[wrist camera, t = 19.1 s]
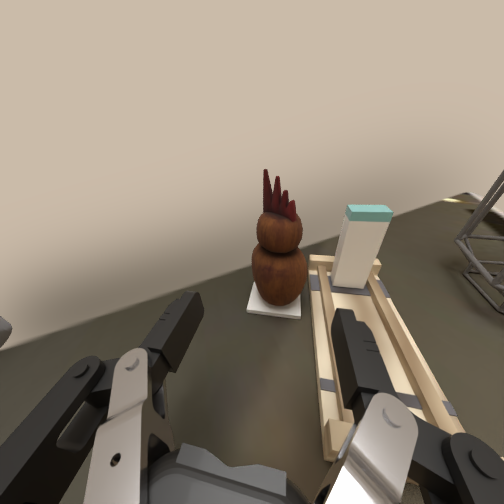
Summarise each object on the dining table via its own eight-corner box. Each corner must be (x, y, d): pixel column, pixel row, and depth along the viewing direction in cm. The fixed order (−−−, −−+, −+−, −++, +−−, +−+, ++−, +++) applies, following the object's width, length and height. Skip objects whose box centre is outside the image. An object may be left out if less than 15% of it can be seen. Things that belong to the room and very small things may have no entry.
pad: (246, 312, 22) (246, 309, 22) (256, 278, 28) (255, 275, 27) (300, 319, 21) (300, 316, 21) (299, 282, 26) (299, 278, 26)
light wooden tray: (323, 460, 12) (332, 449, 10) (307, 270, 28) (309, 254, 27) (490, 504, 10) (531, 501, 9) (371, 275, 27) (377, 258, 25)
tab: (332, 286, 23) (352, 211, 18) (330, 275, 25) (347, 204, 19) (363, 288, 22) (393, 212, 17) (358, 278, 24) (385, 205, 19)
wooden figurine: (248, 283, 26) (237, 169, 18) (284, 272, 27) (290, 163, 19) (267, 321, 20) (264, 183, 12) (311, 306, 22) (335, 173, 14)
